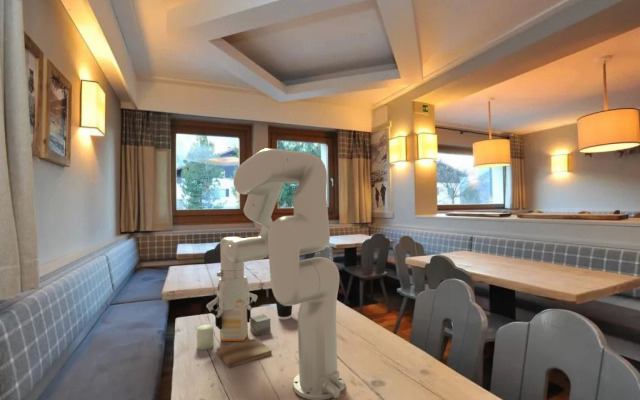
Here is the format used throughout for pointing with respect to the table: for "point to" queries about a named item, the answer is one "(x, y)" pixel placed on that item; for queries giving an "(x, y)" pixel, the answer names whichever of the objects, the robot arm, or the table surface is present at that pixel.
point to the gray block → (260, 324)
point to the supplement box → (234, 323)
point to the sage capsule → (205, 337)
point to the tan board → (243, 352)
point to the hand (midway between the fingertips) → (233, 324)
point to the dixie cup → (283, 311)
